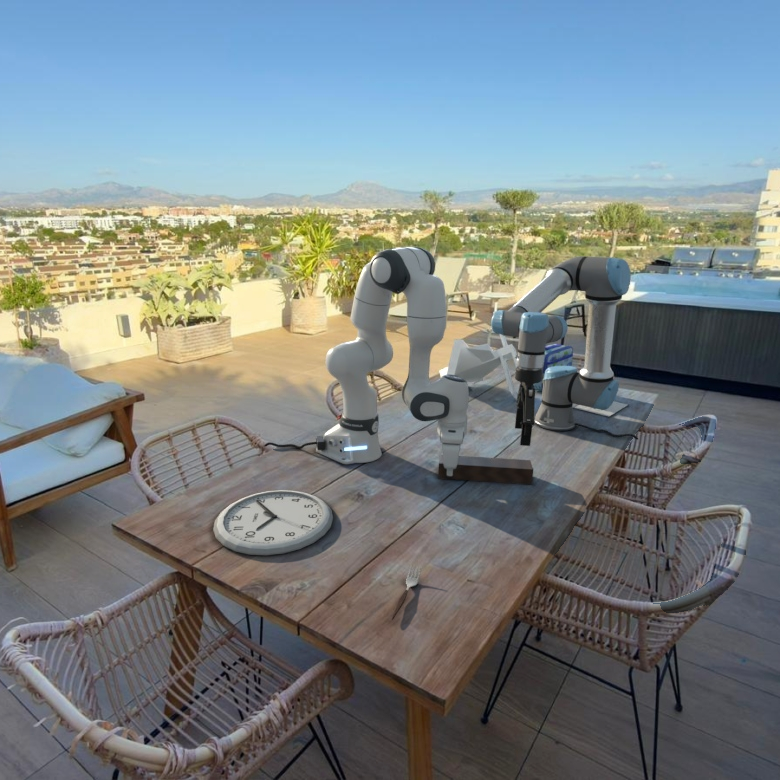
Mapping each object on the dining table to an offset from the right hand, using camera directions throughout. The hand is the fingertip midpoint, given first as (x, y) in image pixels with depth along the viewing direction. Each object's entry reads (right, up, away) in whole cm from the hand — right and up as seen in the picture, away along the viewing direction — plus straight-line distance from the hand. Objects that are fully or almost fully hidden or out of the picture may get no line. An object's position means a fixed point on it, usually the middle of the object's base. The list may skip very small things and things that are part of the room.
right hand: (522, 436), depth 155 cm
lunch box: (+37, +15, +96) cm, 103 cm away
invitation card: (+52, +6, +71) cm, 88 cm away
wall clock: (-69, -20, -21) cm, 75 cm away
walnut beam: (-10, -13, +5) cm, 17 cm away
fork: (-36, -29, -47) cm, 66 cm away
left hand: (-21, -11, +6) cm, 24 cm away
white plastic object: (+2, +13, +88) cm, 89 cm away
